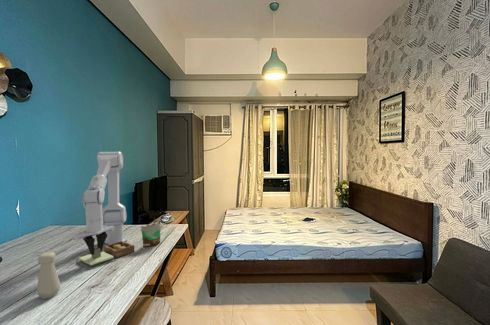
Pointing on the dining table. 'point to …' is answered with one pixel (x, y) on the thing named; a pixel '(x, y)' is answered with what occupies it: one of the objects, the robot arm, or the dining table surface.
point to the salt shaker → (47, 276)
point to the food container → (151, 234)
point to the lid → (96, 257)
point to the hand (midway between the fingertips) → (95, 252)
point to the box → (119, 249)
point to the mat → (95, 264)
